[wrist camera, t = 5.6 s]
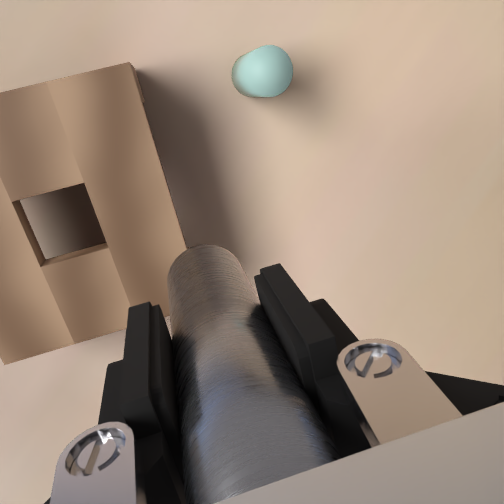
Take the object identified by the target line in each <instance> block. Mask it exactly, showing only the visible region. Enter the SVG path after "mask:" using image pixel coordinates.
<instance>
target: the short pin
mask: <svg viewBox="0 0 504 504" xmlns="http://www.w3.org/2000/svg"><path fill="white" fill-rule="evenodd" d="M292 75H293V67H292V62H291V60H290V58H289V56H288V54H287V53H286V52H285V51H284V50H283V49H281V48H279V47H277V46H274V45H265V46H262V47H260V48H257V49H255V50H253V51H251V52H249V53H247V54H245V55H243V56H241V57H240V58H238V59H237V61H236V62H235V64H234V66H233V68H232V81H233V84H234V86H235V88H236V89H237V90H238V91H239V92H240V93H241V94H243V95H245V96H248V97H274V96H277V95H279V94H281V93H283V92H284V91H285V90H286V89H287V87H288V86H289V84H290V82H291V80H292Z"/></svg>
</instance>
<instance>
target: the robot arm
mask: <svg viewBox="0 0 504 504" xmlns="http://www.w3.org/2000/svg"><path fill="white" fill-rule="evenodd" d="M254 279H255V284H256V288H257V292H258V296H259V300H260V304H261V306H262V308H263V310H264V312H265V314H266V316H267V318H268V320H269V322H270V324H271V326H272V328H273V330H274V332H275V333H276V335H277V337H278V339H279V341H280V343H281V345H282V347H283V349H284V351H285V353H286V355H287V357H288V359H289V361H290V363H291V364H292V366H293V368H294V370H295V372H296V374H297V376H298V378H299V380H300V382H301V384H302V386H303V388H304V390H305V392H306V393H307V394H308V396H309V397H310V399H311V401H312V402H313V404H314V406H315V408H316V410H317V412H318V414H319V416H320V418H321V420H322V422H323V424H324V425H325V427H326V429H327V431H328V433H329V435H330V437H331V439H332V441H333V443H334V445H335V447H336V449H337V450H338V452H339V454H340V456H341V459H338V460H336V461H333V462H330V463H327V464H324V465H322V466H319V467H316V468H313V469H310V470H307V471H305V472H302V473H299V474H296V475H293V476H290V477H288V478H285V479H282V480H279V481H276V482H273V483H271V484H268V485H265V486H262V487H259V488H256V489H254V490H251V491H248V492H245V493H242V494H240V495H237V496H234V497H231V498H228V499H225V500H223V501H220V502H217V503H214V504H504V386H503V385H498V384H492V383H487V382H481V381H476V380H470V379H465V378H459V377H454V376H448V375H443V374H438V373H432V372H427V371H424V370H423V369H422V368H421V367H420V365H419V364H418V363H417V362H416V361H415V360H414V358H413V357H412V356H411V355H410V354H409V353H408V351H407V350H406V349H404V348H403V347H402V346H401V345H399V344H397V343H395V342H392V341H389V340H384V339H366V340H361V341H359V340H358V339H357V337H356V336H355V335H354V334H353V333H352V332H351V330H350V329H349V328H348V327H347V326H346V324H345V323H344V322H343V321H342V320H341V318H340V317H339V316H338V315H337V314H336V312H335V311H334V310H333V309H332V308H331V306H330V305H329V304H328V303H327V302H326V301H325V300H324V299H319V300H316V301H312V302H309V301H308V300H307V299H306V297H305V296H304V295H303V293H302V292H301V291H300V289H299V288H298V287H297V285H296V284H295V283H294V281H293V280H292V279H291V277H290V276H289V275H288V273H287V272H286V271H285V269H284V268H283V267H282V266H281V264H280V263H279V264H275V265H272V266H268V267H265V268H262V269H260V275H256V276H254ZM44 504H186V499H185V487H184V476H183V464H182V452H181V440H180V428H179V417H178V405H177V393H176V381H175V370H174V358H173V346H172V339H171V336H170V334H169V331H168V328H167V325H166V322H165V319H164V316H163V313H162V310H161V307H160V305H159V304H158V305H154V306H152V304H151V302H150V301H149V302H146V303H142V304H139V305H135V306H132V307H129V309H128V319H127V328H126V338H125V347H124V357H123V360H120V361H116V362H113V363H110V364H108V367H107V371H106V378H105V384H104V390H103V396H102V403H101V409H100V415H99V421H98V425H96V426H94V427H92V428H90V429H88V430H86V431H84V432H83V433H81V434H80V435H78V436H77V437H76V438H75V439H74V440H72V441H71V442H70V443H69V444H68V445H67V446H66V448H65V449H64V451H63V452H62V453H61V455H60V457H59V460H58V462H57V465H56V471H55V476H54V482H53V487H52V493H51V497H50V498H49V499H48V500H47V501H46V502H45V503H44Z"/></svg>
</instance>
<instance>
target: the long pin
mask: <svg viewBox="0 0 504 504" xmlns="http://www.w3.org/2000/svg"><path fill="white" fill-rule="evenodd" d="M167 287H168V299H169V311H170V323H171V334H172V346H173V358H174V370H175V381H176V393H177V405H178V417H179V428H180V440H181V452H182V464H183V476H184V487H185V499H186V504H214V503H217V502H220V501H223V500H225V499H228V498H231V497H234V496H237V495H240V494H242V493H245V492H248V491H251V490H254V489H256V488H259V487H262V486H265V485H268V484H271V483H273V482H276V481H279V480H282V479H285V478H288V477H290V476H293V475H296V474H299V473H302V472H305V471H307V470H310V469H313V468H316V467H319V466H322V465H324V464H327V463H330V462H333V461H336V460H338V459H341V456H340V454H339V452H338V450H337V449H336V447H335V445H334V443H333V441H332V439H331V437H330V435H329V433H328V431H327V429H326V427H325V425H324V424H323V422H322V420H321V418H320V416H319V414H318V412H317V410H316V408H315V406H314V404H313V402H312V401H311V399H310V397H309V396H308V394H307V393H306V392H305V390H304V388H303V386H302V384H301V382H300V380H299V378H298V376H297V374H296V372H295V370H294V368H293V366H292V364H291V363H290V361H289V359H288V357H287V355H286V353H285V351H284V349H283V347H282V345H281V343H280V341H279V339H278V337H277V335H276V333H275V332H274V330H273V328H272V326H271V324H270V322H269V320H268V318H267V316H266V314H265V312H264V310H263V308H262V306H261V304H260V301H259V299H258V297H257V295H256V293H255V291H254V289H253V287H252V285H251V284H250V282H249V280H248V278H247V276H246V274H245V272H244V270H243V268H242V266H241V264H240V262H239V261H238V259H237V258H236V257H235V256H234V255H233V254H232V253H231V252H230V251H228V250H227V249H225V248H223V247H220V246H217V245H211V244H204V245H198V246H194V247H191V248H189V249H187V250H186V251H184V252H182V253H181V254H180V255H179V256H178V257H177V258H176V259H175V260H174V262H173V263H172V265H171V267H170V269H169V272H168V277H167Z"/></svg>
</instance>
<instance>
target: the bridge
mask: <svg viewBox="0 0 504 504" xmlns="http://www.w3.org/2000/svg"><path fill="white" fill-rule="evenodd" d="M144 102H145V101H144V97H143V94H142V91H141V88H140V84H139V81H138V78H137V74H136V71H135V68H134V67H133V66H132V65H131V64H130V62H127V63H123V64H119V65H115V66H110V67H106V68H102V69H98V70H94V71H89V72H85V73H81V74H77V75H73V76H68V77H64V78H60V79H56V80H52V81H48V82H43V83H39V84H35V85H31V86H27V87H22V88H18V89H14V90H10V91H6V92H1V93H0V357H1V359H2V361H3V363H4V365H6V364H9V363H13V362H16V361H19V360H23V359H26V358H29V357H33V356H36V355H39V354H43V353H46V352H49V351H53V350H56V349H59V348H63V347H66V346H69V345H73V344H76V343H79V342H83V341H86V340H89V339H93V338H96V337H99V336H103V335H106V334H109V333H113V332H116V331H119V330H123V329H126V328H127V319H128V309H129V307H132V306H135V305H139V304H142V303H146V302H149V301H150V302H151V304H152V306H154V305H158V304H159V305H160V307H161V310H162V313H163V316H164V317H166V316H169V315H170V311H169V299H168V287H167V277H168V272H169V269H170V267H171V265H172V263H173V262H174V260H175V259H176V258H177V257H178V256H179V255H180V254H181V253H182V252H184V251H186V250H187V249H189V247H186V243H185V240H184V237H183V234H182V230H181V227H180V224H179V221H178V217H177V214H176V211H175V207H174V204H173V201H172V198H171V194H170V191H169V188H168V185H167V181H166V178H165V175H164V171H163V168H162V165H161V162H160V158H159V155H158V152H157V149H156V145H155V142H154V139H153V135H152V132H151V129H150V126H149V122H148V119H147V116H146V113H145V109H144V106H143V103H144ZM81 183H84V184H85V186H86V189H87V192H88V194H89V197H90V200H91V202H92V205H93V208H94V210H95V213H96V216H97V218H98V221H99V224H100V226H101V229H102V232H103V234H104V237H105V240H106V242H107V243H103V244H100V245H96V246H93V247H89V248H85V249H82V250H78V251H75V252H71V253H68V254H64V255H60V256H57V257H53V258H50V259H46V260H45V257H44V255H43V253H42V250H41V248H40V246H39V244H38V241H37V239H36V237H35V234H34V232H33V230H32V228H31V225H30V223H29V221H28V219H27V216H26V214H25V212H24V209H23V207H22V205H21V203H20V199H24V198H28V197H32V196H35V195H39V194H43V193H47V192H51V191H54V190H58V189H62V188H66V187H69V186H73V185H77V184H81Z"/></svg>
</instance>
